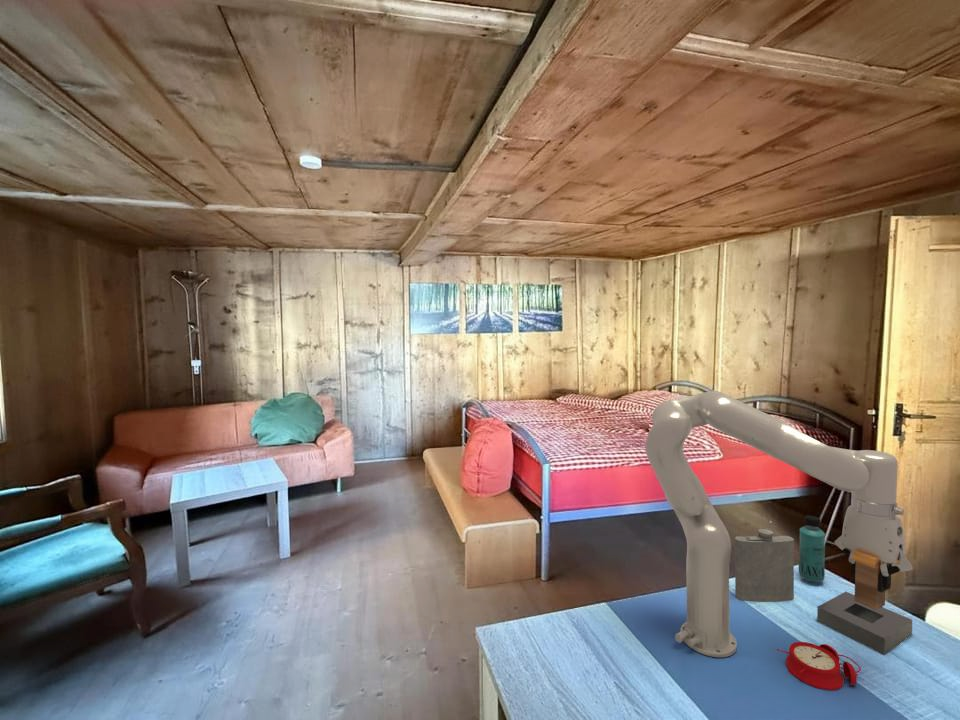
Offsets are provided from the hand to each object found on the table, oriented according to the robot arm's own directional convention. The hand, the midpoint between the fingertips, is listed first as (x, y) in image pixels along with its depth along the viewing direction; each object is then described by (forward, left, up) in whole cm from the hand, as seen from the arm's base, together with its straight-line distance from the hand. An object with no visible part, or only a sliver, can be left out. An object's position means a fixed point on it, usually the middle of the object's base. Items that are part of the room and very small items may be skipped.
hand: (870, 584), depth 100 cm
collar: (+13, +7, -19) cm, 24 cm away
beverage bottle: (+25, +25, -19) cm, 40 cm away
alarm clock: (-12, +4, -19) cm, 23 cm away
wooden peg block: (0, 0, -4) cm, 4 cm away
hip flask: (+5, +26, -19) cm, 33 cm away
